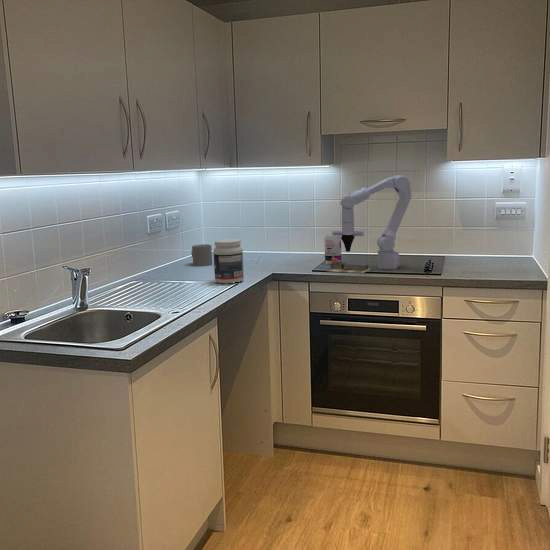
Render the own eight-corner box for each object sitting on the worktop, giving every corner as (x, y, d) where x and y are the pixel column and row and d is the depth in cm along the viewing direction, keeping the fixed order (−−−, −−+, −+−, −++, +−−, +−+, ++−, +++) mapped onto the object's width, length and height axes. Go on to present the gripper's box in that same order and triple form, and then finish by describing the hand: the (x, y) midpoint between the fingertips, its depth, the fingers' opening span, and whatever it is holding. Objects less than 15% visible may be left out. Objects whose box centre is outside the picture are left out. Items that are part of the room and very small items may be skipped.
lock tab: (338, 262, 292) (338, 258, 291) (336, 263, 290) (336, 259, 289) (333, 262, 293) (333, 258, 292) (331, 263, 291) (331, 258, 290)
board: (371, 271, 288) (371, 268, 288) (363, 275, 277) (363, 272, 277) (335, 269, 296) (335, 266, 296) (325, 273, 285) (325, 271, 285)
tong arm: (367, 268, 285) (367, 263, 285) (365, 269, 283) (365, 264, 282) (339, 267, 292) (338, 261, 291) (336, 268, 289) (336, 262, 289)
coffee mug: (215, 264, 321) (214, 245, 319) (198, 267, 316) (197, 247, 314) (204, 261, 332) (203, 243, 330) (187, 263, 327) (186, 245, 325)
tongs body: (368, 269, 286) (368, 264, 286) (365, 270, 283) (365, 265, 283) (333, 267, 294) (333, 262, 294) (330, 268, 291) (330, 264, 290)
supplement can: (341, 264, 310) (341, 234, 307) (341, 267, 301) (341, 236, 299) (325, 264, 310) (324, 234, 308) (324, 267, 302) (324, 236, 300)
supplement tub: (217, 279, 281) (215, 238, 278) (245, 278, 280) (243, 238, 277) (212, 285, 268) (210, 242, 265) (242, 284, 267) (240, 241, 264)
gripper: (365, 221, 285) (365, 250, 287) (335, 220, 291) (336, 249, 294) (360, 222, 279) (361, 252, 281) (330, 222, 285) (331, 251, 288)
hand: (348, 251), depth 287 cm, fingers closed
